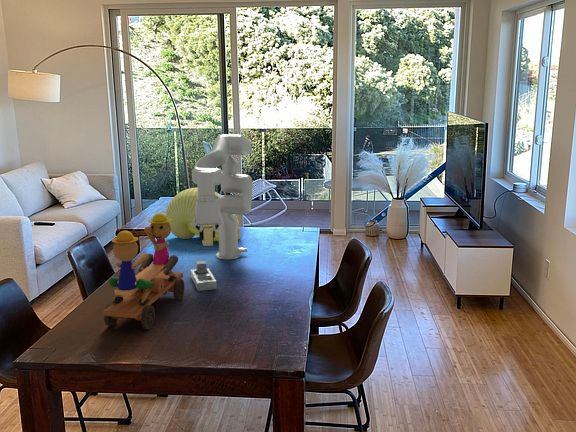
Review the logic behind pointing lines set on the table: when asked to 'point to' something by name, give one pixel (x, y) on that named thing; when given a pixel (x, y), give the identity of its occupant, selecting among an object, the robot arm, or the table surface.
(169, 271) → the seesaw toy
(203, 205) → the robot arm
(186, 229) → the shell
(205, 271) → the seated steel block
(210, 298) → the table surface
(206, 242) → the brass block
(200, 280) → the grey block holder tray
